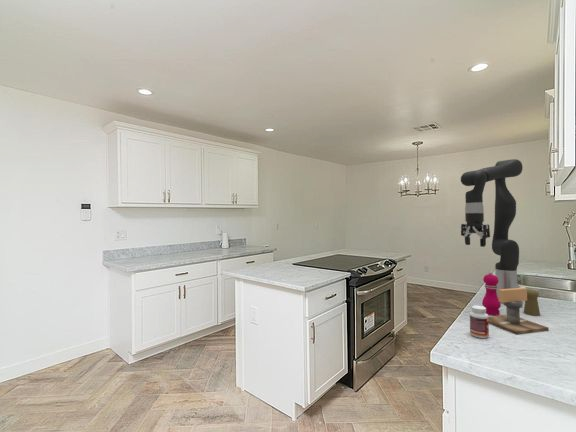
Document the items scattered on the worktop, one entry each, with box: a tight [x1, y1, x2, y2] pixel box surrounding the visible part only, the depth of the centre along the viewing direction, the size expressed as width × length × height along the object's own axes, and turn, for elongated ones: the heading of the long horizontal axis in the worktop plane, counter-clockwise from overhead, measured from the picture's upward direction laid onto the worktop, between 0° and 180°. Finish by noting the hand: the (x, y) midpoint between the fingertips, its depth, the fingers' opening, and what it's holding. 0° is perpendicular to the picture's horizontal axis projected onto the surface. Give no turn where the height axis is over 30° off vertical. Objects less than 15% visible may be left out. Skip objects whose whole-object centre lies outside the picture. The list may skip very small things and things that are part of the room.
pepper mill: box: [481, 270, 502, 316], centre depth 140 cm, size 7×7×20 cm
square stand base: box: [488, 306, 549, 336], centre depth 125 cm, size 16×16×8 cm
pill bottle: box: [469, 305, 490, 339], centre depth 115 cm, size 6×6×11 cm
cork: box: [523, 289, 541, 317], centre depth 138 cm, size 6×6×11 cm
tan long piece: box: [498, 285, 528, 309], centre depth 125 cm, size 6×12×8 cm, turn 100°
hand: (475, 245), depth 143 cm, fingers open, 8 cm apart
